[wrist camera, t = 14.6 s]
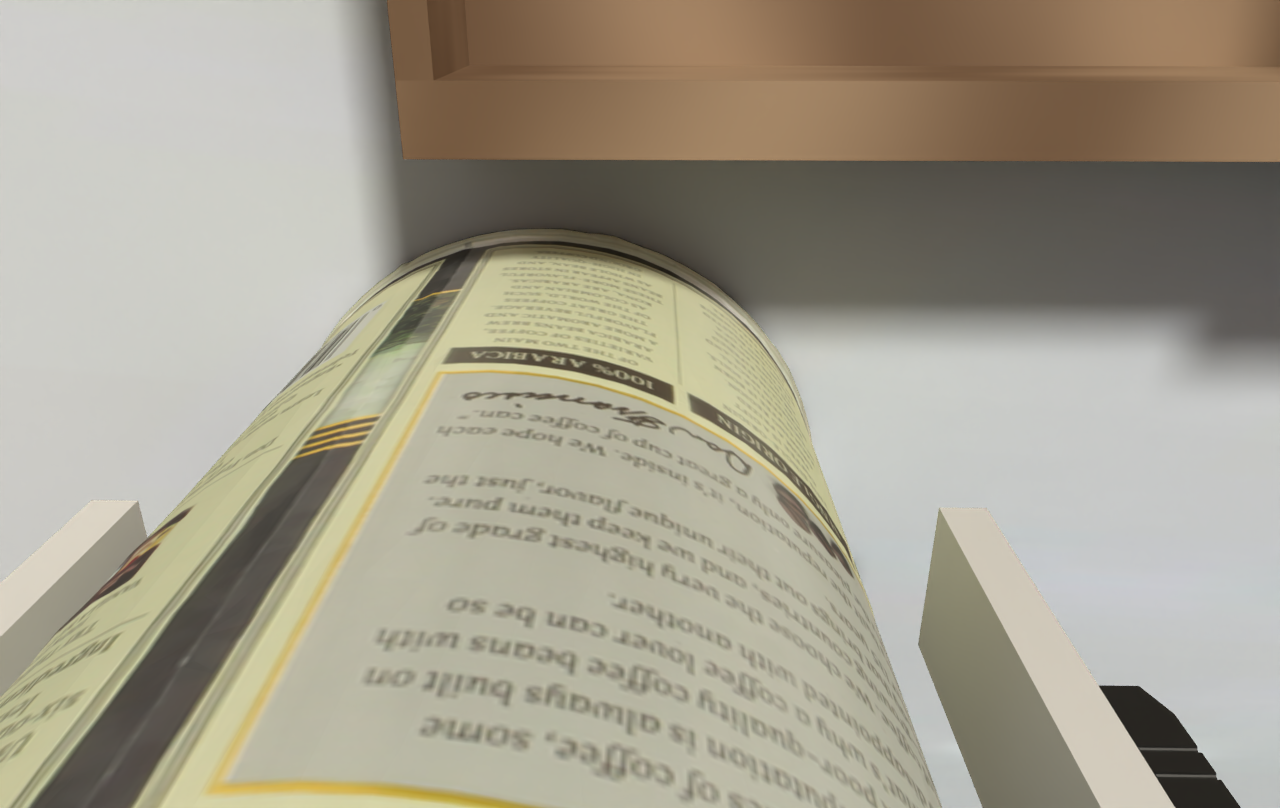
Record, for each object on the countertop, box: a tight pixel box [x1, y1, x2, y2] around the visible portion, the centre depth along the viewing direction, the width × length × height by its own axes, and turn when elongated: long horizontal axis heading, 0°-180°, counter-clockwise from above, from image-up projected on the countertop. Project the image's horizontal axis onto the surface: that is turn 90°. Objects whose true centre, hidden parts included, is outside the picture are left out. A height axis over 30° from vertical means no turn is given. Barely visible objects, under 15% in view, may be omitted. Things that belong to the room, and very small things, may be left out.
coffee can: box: [0, 229, 942, 808], centre depth 12 cm, size 10×10×14 cm
